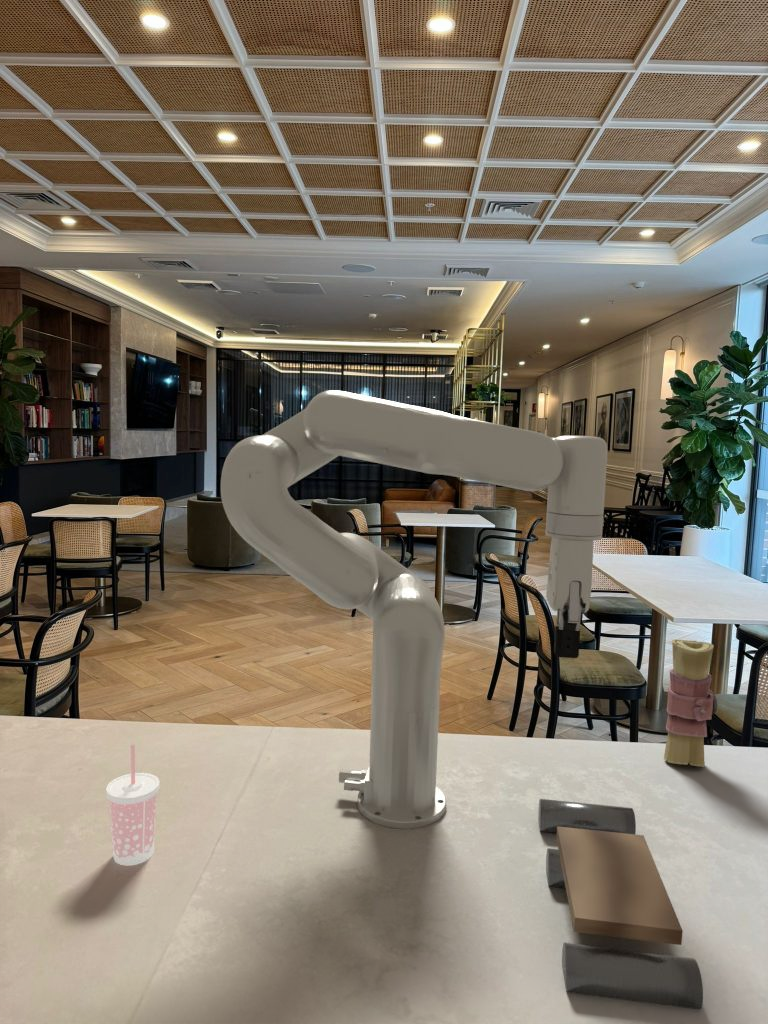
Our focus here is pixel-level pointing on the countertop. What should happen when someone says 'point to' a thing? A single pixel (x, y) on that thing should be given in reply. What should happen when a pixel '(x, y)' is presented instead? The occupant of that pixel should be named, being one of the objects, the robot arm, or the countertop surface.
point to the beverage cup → (133, 815)
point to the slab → (615, 886)
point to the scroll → (689, 702)
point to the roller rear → (585, 817)
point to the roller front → (554, 869)
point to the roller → (632, 975)
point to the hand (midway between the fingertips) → (565, 655)
